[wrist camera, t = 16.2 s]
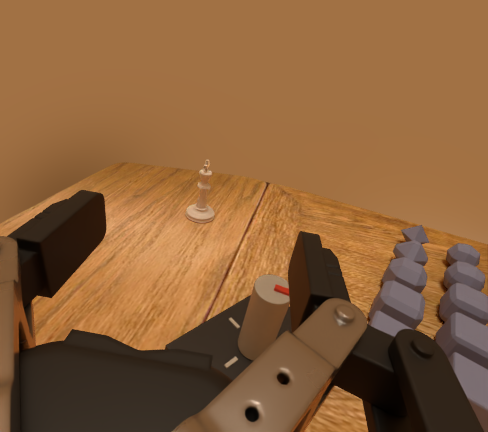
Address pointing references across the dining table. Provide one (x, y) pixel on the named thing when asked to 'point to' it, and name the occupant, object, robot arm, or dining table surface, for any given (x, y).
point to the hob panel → (223, 339)
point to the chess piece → (201, 199)
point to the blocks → (441, 310)
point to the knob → (264, 315)
